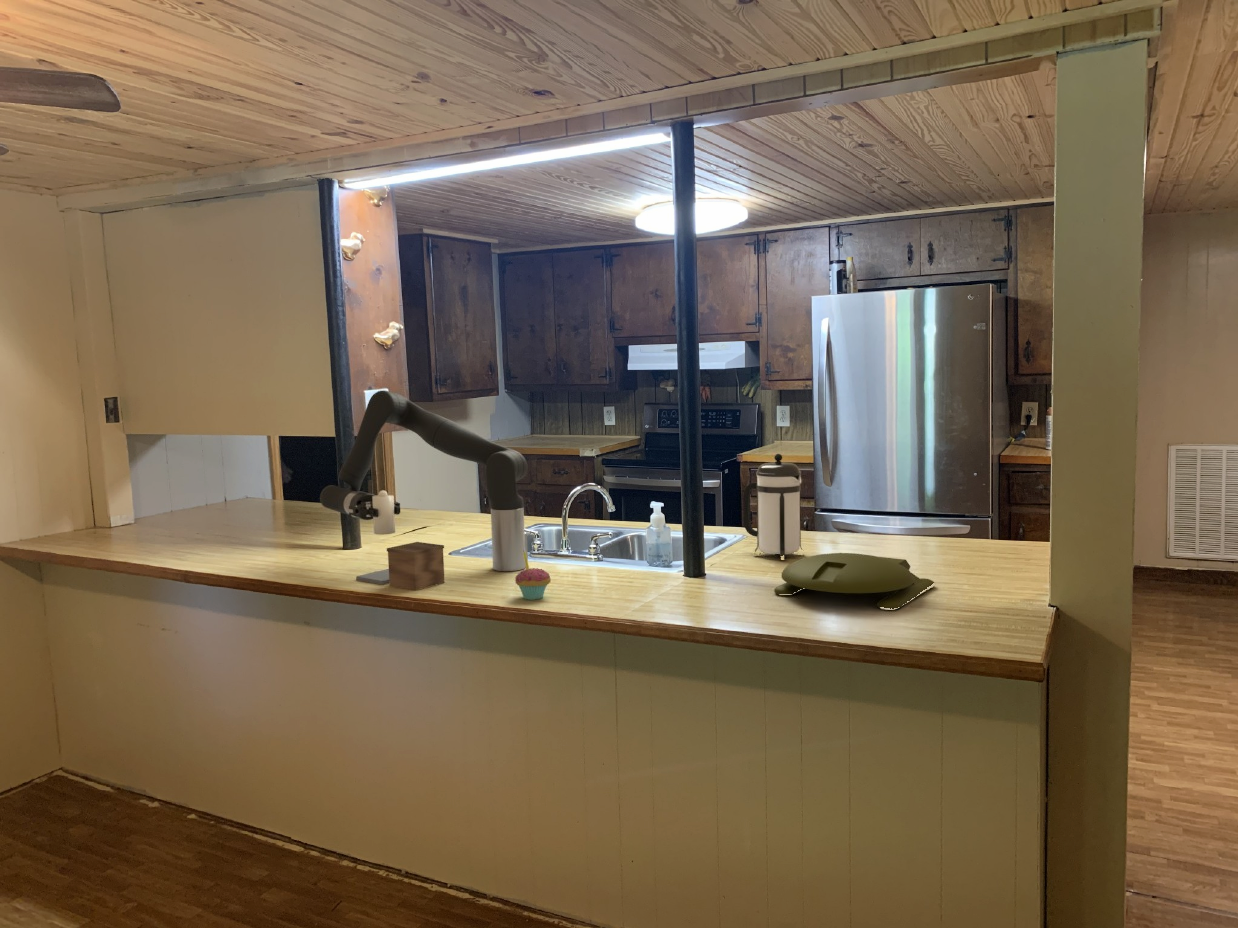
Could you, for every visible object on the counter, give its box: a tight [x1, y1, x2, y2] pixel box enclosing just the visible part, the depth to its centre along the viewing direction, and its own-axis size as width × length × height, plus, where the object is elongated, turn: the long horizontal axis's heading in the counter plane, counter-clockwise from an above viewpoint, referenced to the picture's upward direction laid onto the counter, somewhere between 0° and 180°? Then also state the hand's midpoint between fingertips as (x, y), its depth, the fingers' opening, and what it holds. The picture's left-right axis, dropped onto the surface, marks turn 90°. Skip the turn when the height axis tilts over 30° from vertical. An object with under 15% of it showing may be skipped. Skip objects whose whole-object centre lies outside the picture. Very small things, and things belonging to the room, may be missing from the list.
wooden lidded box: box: [386, 541, 445, 591], centre depth 235 cm, size 10×10×10 cm
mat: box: [355, 568, 389, 585], centre depth 244 cm, size 12×11×1 cm
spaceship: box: [773, 552, 935, 609], centre depth 215 cm, size 35×31×10 cm
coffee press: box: [742, 453, 803, 557], centre depth 260 cm, size 17×16×30 cm
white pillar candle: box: [372, 489, 396, 536], centre depth 242 cm, size 6×6×12 cm
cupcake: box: [514, 549, 552, 601], centre depth 218 cm, size 9×8×12 cm
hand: (387, 511), depth 240 cm, fingers closed on white pillar candle, 5 cm apart
